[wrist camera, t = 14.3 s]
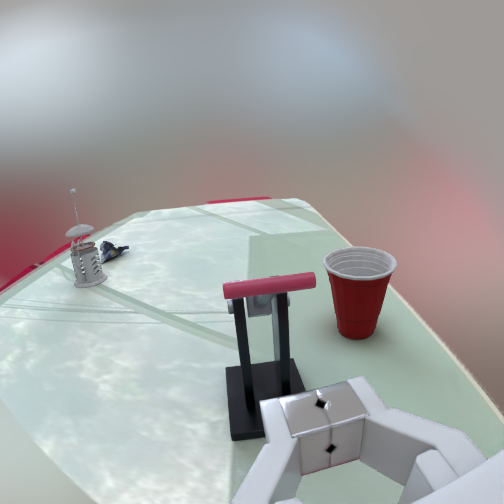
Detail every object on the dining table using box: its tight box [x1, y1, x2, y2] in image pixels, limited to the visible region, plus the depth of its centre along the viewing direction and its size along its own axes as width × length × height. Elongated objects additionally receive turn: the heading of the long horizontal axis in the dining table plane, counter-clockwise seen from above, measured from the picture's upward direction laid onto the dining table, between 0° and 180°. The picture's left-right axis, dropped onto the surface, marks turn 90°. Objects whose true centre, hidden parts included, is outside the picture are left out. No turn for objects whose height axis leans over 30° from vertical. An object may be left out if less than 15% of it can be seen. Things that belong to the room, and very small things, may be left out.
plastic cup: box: [323, 247, 397, 339], centre depth 46 cm, size 11×11×12 cm
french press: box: [66, 188, 107, 288], centre depth 75 cm, size 10×12×25 cm
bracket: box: [226, 276, 306, 441], centre depth 33 cm, size 12×9×15 cm
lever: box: [223, 272, 316, 318], centre depth 27 cm, size 13×6×2 cm
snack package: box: [100, 241, 129, 263], centre depth 99 cm, size 12×6×12 cm
